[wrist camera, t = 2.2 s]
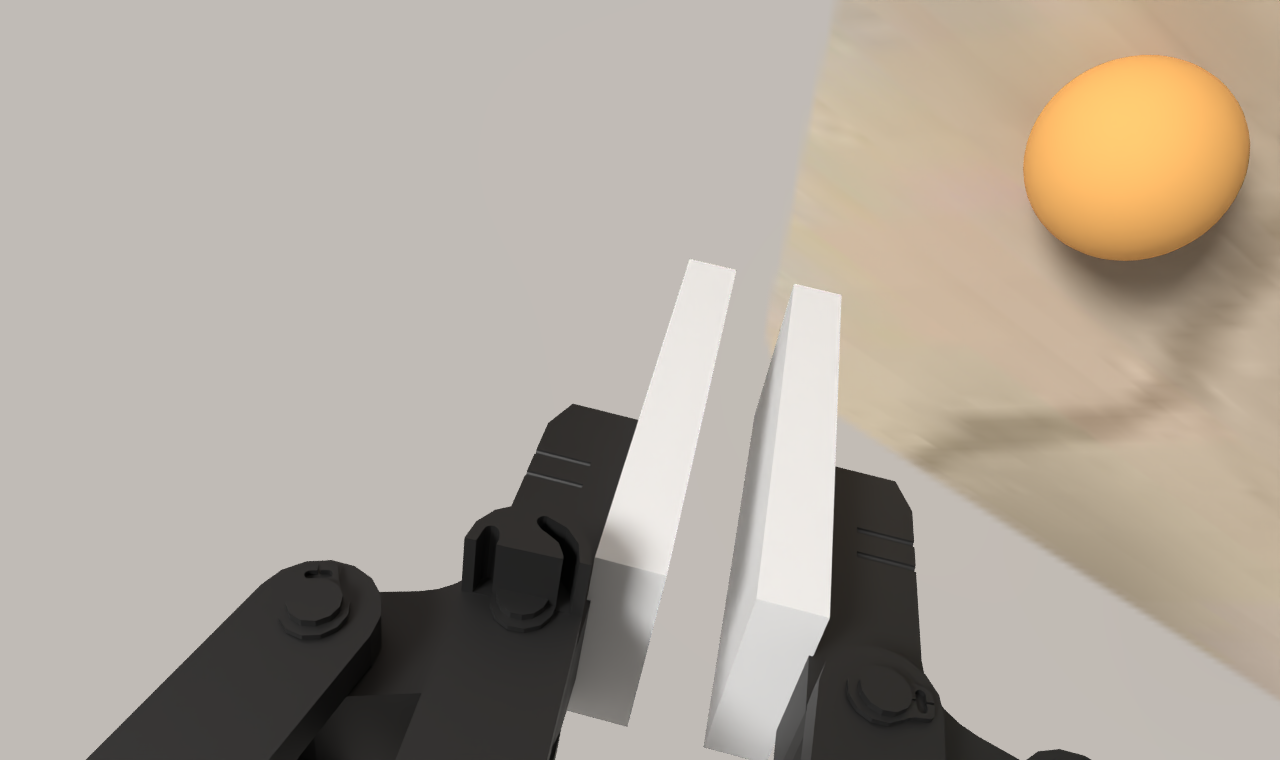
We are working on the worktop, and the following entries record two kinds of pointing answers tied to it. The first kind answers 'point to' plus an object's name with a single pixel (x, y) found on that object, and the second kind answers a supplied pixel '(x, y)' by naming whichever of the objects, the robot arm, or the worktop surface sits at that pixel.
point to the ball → (1136, 157)
